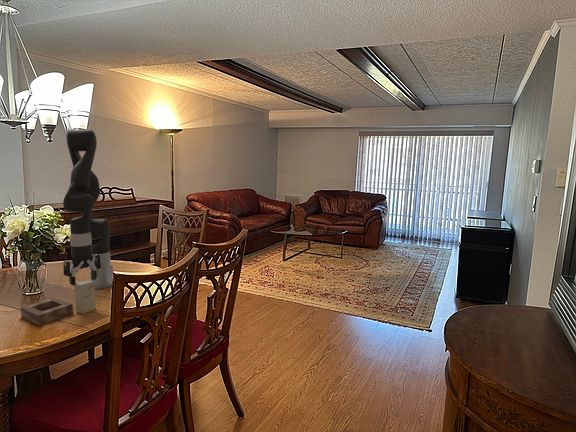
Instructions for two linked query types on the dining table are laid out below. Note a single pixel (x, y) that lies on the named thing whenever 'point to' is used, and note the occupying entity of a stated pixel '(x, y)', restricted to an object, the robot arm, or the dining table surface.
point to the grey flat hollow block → (46, 311)
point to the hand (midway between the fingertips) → (83, 282)
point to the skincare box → (85, 296)
